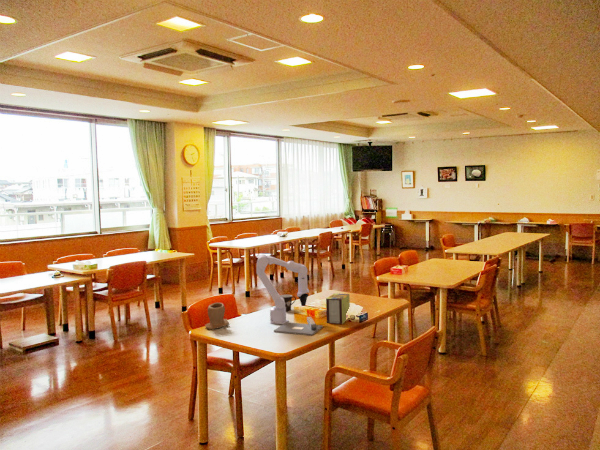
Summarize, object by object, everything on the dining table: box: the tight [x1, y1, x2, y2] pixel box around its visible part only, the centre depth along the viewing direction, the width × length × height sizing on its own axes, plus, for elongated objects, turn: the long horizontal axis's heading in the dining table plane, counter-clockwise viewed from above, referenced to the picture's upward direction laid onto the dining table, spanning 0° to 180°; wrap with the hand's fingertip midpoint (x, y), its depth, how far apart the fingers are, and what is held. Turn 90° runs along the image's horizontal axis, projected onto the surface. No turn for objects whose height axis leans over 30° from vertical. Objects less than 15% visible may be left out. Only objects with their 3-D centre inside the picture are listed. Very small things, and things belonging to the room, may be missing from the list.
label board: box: [273, 321, 324, 337], centre depth 297 cm, size 24×18×1 cm
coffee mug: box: [279, 294, 297, 312], centre depth 344 cm, size 12×9×10 cm
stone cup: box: [204, 302, 230, 330], centre depth 307 cm, size 15×12×15 cm
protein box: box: [325, 292, 351, 325], centre depth 314 cm, size 10×15×16 cm
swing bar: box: [306, 316, 317, 330], centre depth 300 cm, size 18×3×3 cm, turn 8°
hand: (303, 305), depth 315 cm, fingers closed
